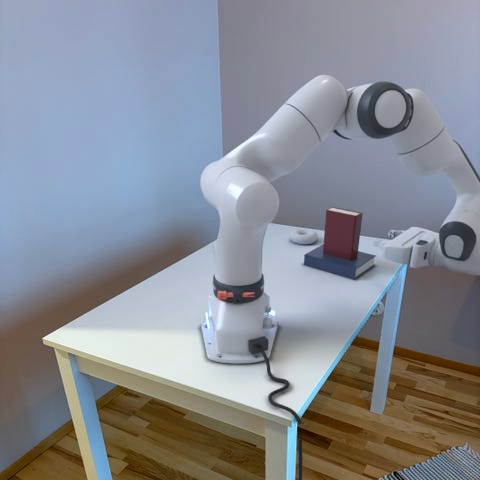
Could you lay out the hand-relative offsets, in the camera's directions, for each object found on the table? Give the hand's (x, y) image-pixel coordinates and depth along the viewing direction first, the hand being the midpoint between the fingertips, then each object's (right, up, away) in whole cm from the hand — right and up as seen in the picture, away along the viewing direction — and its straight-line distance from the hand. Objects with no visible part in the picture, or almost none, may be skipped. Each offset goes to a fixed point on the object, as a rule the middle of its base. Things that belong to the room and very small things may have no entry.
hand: (381, 237), depth 134 cm
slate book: (-10, -6, +13) cm, 18 cm away
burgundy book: (-10, -3, +12) cm, 15 cm away
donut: (-18, +4, +33) cm, 38 cm away
